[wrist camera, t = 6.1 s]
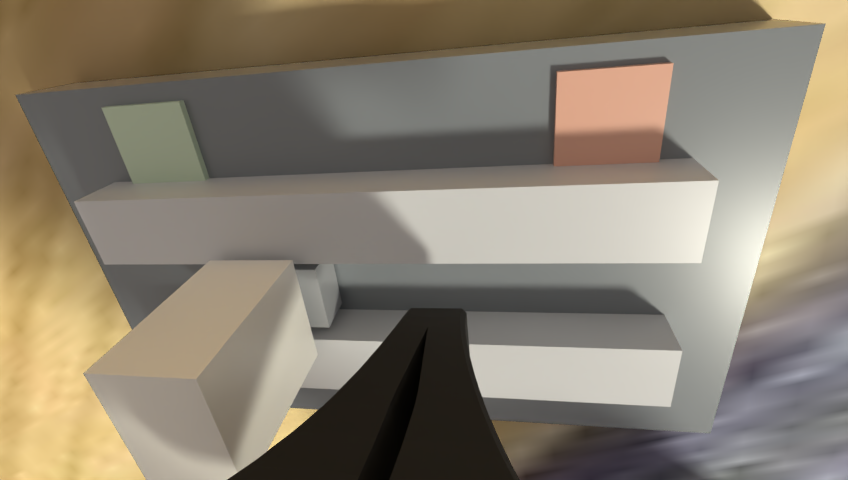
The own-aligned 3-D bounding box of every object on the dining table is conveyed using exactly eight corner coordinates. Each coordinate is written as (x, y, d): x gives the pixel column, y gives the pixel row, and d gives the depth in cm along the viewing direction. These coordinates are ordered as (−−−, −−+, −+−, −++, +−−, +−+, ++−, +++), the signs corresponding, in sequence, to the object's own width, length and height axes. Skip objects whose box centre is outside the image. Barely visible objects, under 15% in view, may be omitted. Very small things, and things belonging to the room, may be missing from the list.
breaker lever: (325, 230, 13) (211, 379, 8) (345, 318, 15) (259, 492, 10) (232, 231, 14) (69, 372, 9) (260, 316, 15) (135, 480, 10)
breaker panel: (774, 19, 11) (878, 28, 8) (688, 386, 16) (730, 476, 13) (73, 83, 15) (-41, 106, 12) (196, 365, 20) (141, 430, 17)
